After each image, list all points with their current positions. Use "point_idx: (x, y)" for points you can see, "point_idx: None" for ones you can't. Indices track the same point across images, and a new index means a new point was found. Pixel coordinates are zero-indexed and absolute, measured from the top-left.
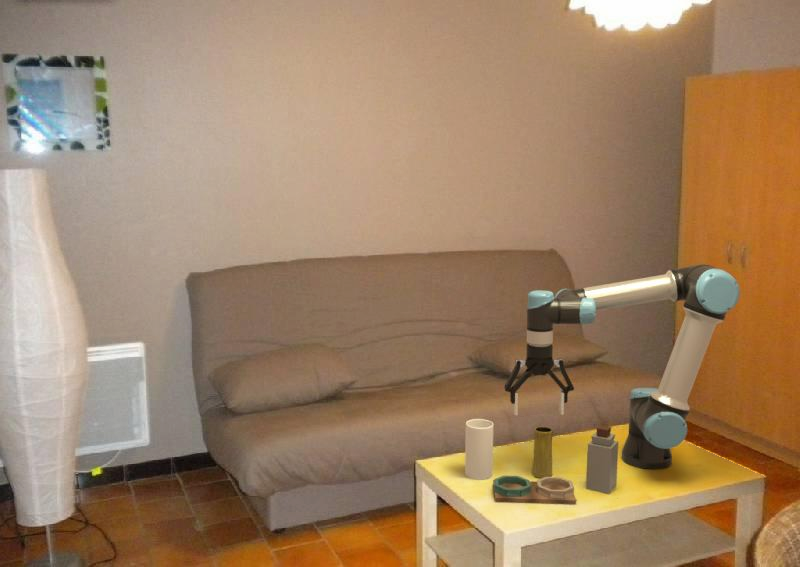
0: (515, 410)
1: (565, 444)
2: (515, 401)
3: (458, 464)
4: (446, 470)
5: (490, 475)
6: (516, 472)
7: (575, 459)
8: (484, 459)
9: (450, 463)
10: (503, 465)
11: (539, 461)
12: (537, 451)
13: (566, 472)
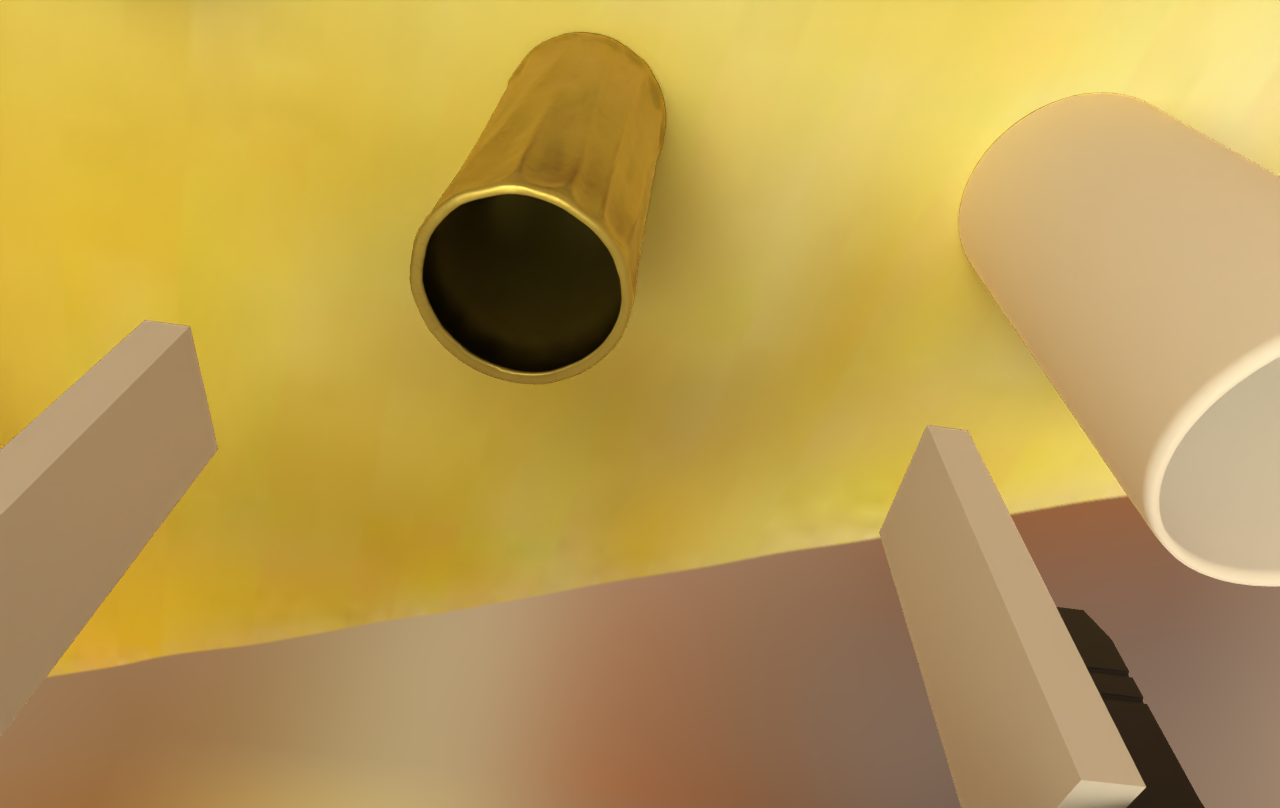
0: (987, 485)
1: (324, 545)
2: (1058, 619)
3: None
4: None
5: (1020, 129)
6: (767, 194)
7: (288, 345)
8: (1173, 146)
9: None
10: (810, 325)
11: (619, 96)
12: (629, 149)
13: (385, 137)
